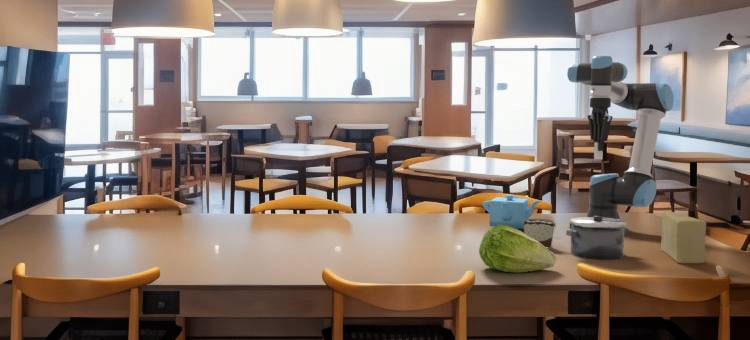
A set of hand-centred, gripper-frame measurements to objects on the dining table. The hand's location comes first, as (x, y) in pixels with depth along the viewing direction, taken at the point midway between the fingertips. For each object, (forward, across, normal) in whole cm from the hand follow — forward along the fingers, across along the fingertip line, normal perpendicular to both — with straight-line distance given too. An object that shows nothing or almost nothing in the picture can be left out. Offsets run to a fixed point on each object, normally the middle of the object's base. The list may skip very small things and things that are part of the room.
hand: (598, 159), depth 269 cm
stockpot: (+32, +17, -11) cm, 38 cm away
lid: (+22, +17, -11) cm, 30 cm away
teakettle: (+33, -33, -19) cm, 50 cm away
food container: (+33, 0, -24) cm, 40 cm away
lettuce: (+32, +32, -50) cm, 68 cm away
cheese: (+33, +28, +14) cm, 46 cm away
